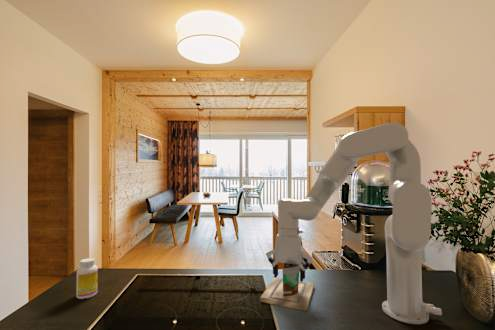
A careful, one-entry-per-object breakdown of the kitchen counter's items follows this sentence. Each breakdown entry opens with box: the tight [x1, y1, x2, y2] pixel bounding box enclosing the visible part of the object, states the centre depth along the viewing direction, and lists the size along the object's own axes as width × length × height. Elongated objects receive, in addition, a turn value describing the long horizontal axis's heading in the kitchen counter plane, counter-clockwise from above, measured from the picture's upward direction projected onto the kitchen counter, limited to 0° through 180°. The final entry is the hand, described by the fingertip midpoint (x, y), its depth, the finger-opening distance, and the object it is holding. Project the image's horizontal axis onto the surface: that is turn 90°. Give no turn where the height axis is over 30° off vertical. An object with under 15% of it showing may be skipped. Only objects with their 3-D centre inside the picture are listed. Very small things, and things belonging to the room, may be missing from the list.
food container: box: [282, 263, 301, 296], centre depth 92 cm, size 12×6×10 cm, turn 166°
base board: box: [259, 277, 315, 311], centre depth 93 cm, size 16×18×2 cm
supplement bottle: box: [75, 257, 99, 300], centre depth 93 cm, size 7×7×13 cm
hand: (288, 278), depth 93 cm, fingers open, 9 cm apart
